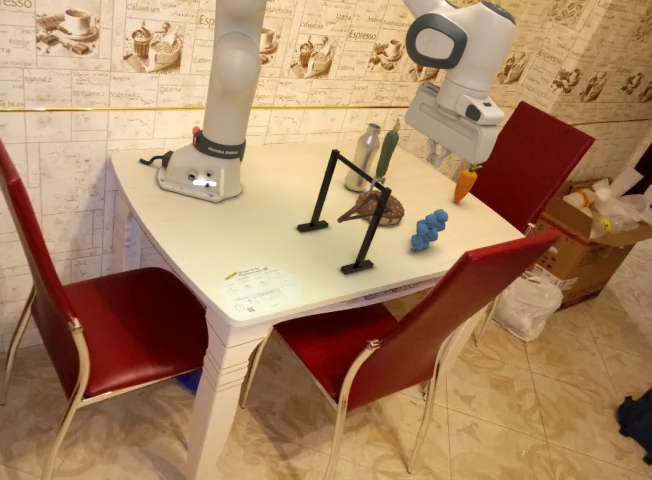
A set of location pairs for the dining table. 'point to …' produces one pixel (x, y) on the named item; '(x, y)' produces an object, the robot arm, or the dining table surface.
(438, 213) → the grapes
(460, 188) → the carrot
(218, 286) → the dining table surface
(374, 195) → the hanger
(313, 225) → the rail
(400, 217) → the donut
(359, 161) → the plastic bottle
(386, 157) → the vegetable
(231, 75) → the robot arm
